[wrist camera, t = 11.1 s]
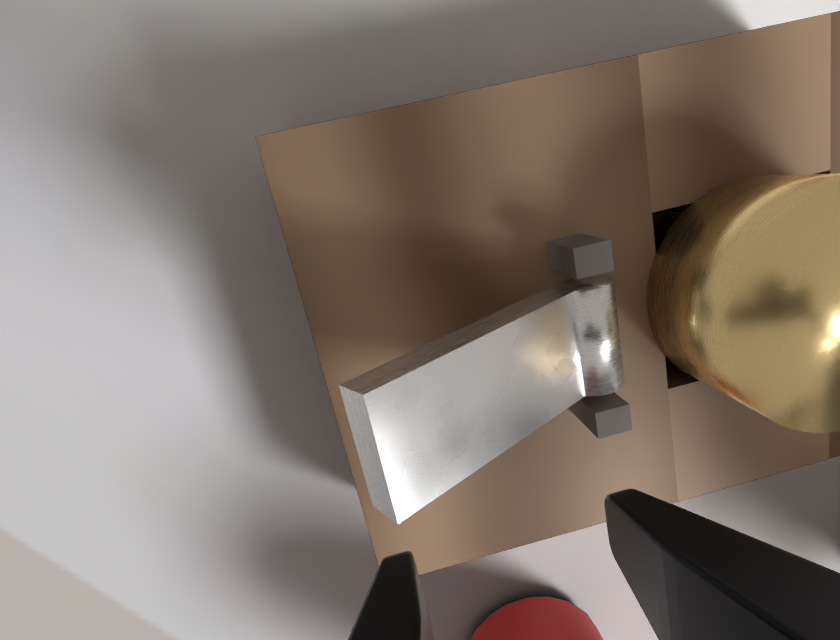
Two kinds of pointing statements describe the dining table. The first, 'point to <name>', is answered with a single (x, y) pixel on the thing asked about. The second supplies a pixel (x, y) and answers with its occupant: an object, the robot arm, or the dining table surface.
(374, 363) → the brown rectangular block
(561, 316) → the latch bar
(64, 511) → the dining table surface
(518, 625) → the beer can
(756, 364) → the brass pin
